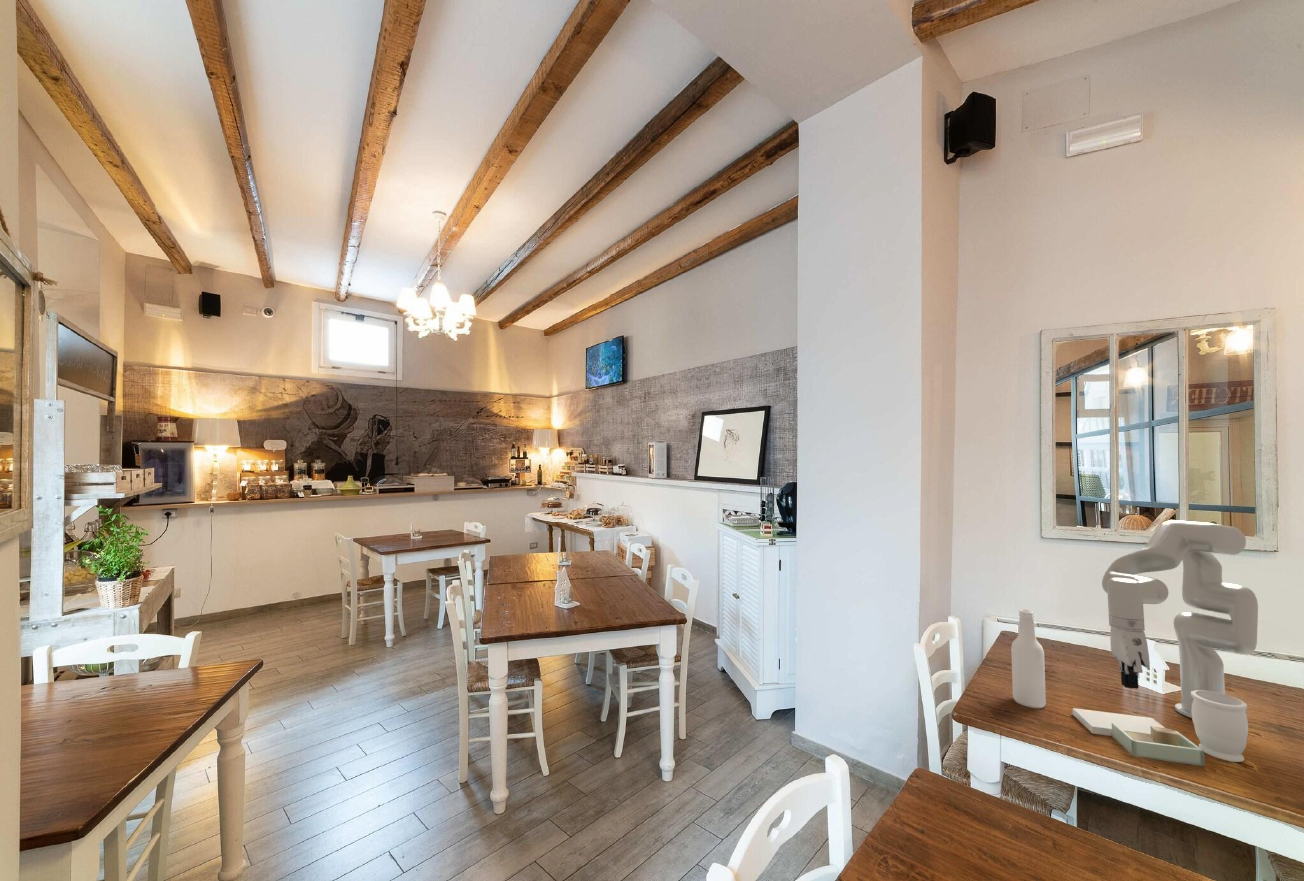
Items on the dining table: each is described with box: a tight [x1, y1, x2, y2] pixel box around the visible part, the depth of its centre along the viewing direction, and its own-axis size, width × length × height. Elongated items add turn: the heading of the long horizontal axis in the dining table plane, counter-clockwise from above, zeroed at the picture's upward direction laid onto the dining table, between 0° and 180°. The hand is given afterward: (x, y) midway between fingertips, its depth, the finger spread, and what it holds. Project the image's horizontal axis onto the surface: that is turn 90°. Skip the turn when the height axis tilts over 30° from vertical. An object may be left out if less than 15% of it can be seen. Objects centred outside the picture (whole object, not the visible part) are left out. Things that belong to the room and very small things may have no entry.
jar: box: [1191, 690, 1249, 763], centre depth 139 cm, size 11×10×15 cm
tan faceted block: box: [1150, 726, 1178, 746], centre depth 142 cm, size 4×4×3 cm
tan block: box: [1126, 732, 1155, 743], centre depth 141 cm, size 4×4×3 cm
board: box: [1072, 707, 1166, 739], centre depth 152 cm, size 20×12×2 cm, turn 72°
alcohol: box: [1010, 609, 1047, 709], centre depth 169 cm, size 9×9×30 cm
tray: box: [1111, 723, 1206, 767], centre depth 140 cm, size 15×10×4 cm
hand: (1130, 686), depth 146 cm, fingers closed
